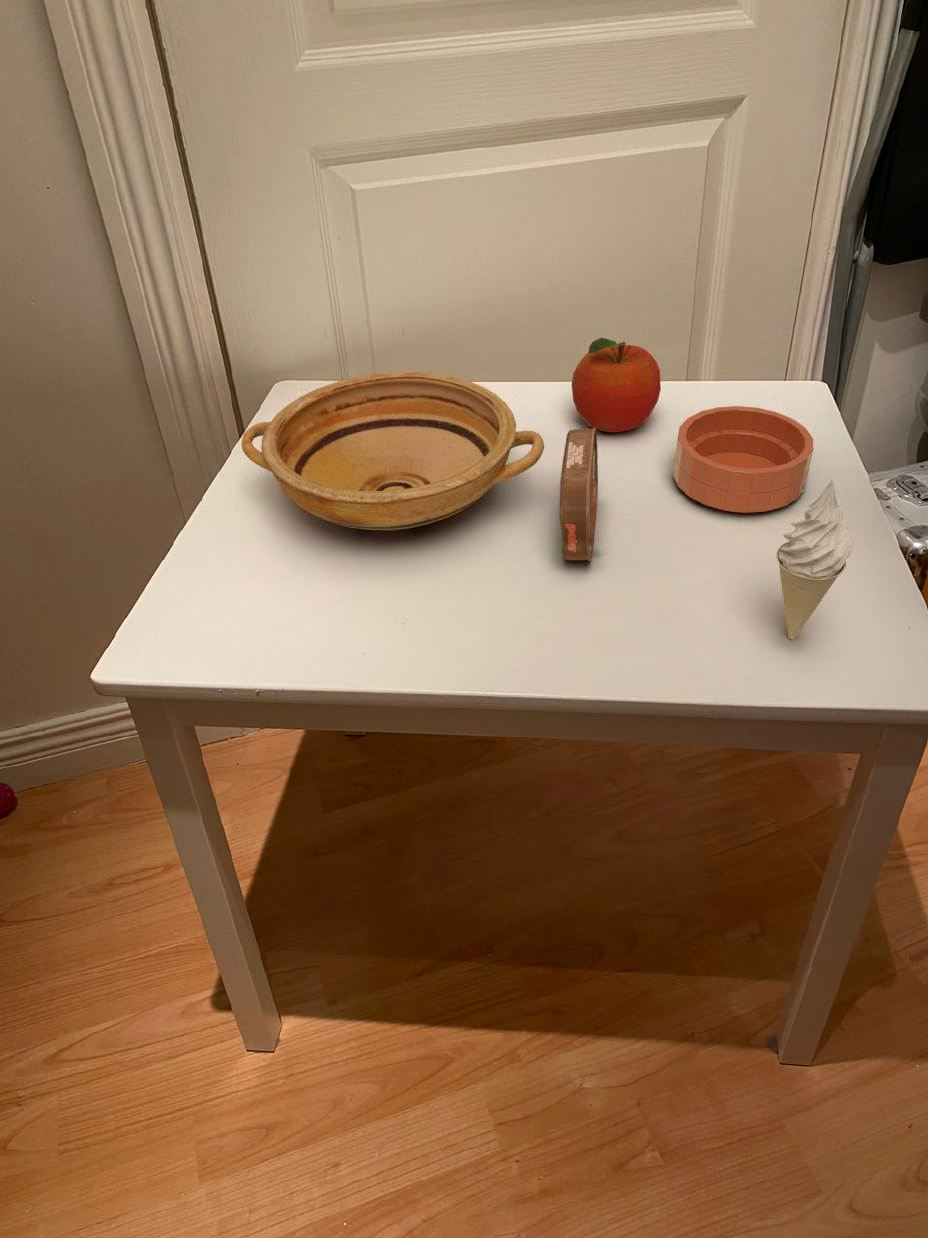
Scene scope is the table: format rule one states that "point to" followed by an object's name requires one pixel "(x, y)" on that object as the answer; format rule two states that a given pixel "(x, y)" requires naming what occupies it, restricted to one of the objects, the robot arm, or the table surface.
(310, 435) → the ceramic bowl
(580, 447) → the tin
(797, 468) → the pot
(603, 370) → the fruit
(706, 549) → the table surface
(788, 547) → the ice cream cone
